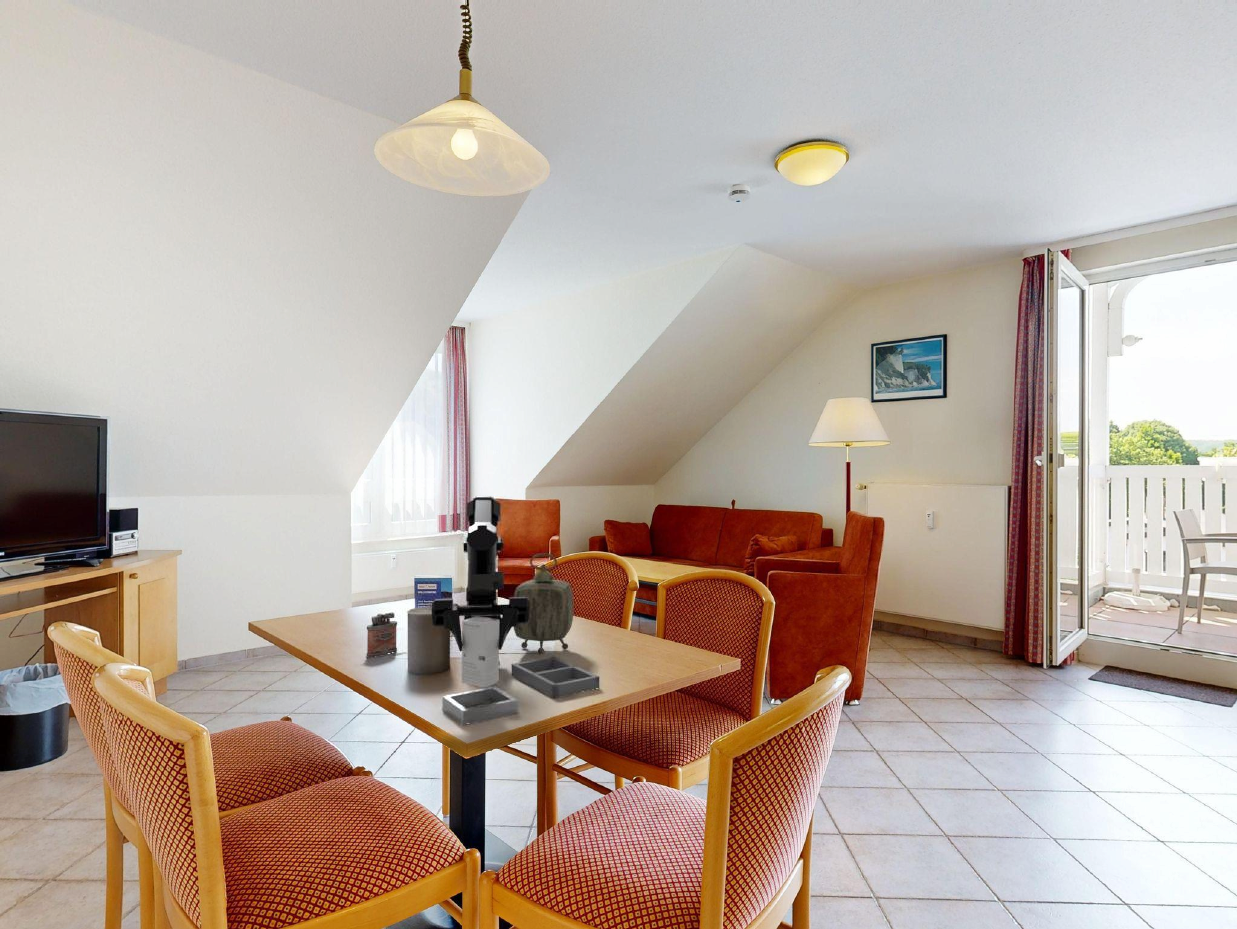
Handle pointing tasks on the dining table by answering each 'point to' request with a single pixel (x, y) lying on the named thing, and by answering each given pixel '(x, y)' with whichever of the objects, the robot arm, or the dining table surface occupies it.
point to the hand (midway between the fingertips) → (480, 649)
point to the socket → (480, 713)
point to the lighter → (381, 635)
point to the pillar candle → (427, 643)
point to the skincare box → (480, 651)
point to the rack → (555, 676)
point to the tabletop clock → (545, 607)
